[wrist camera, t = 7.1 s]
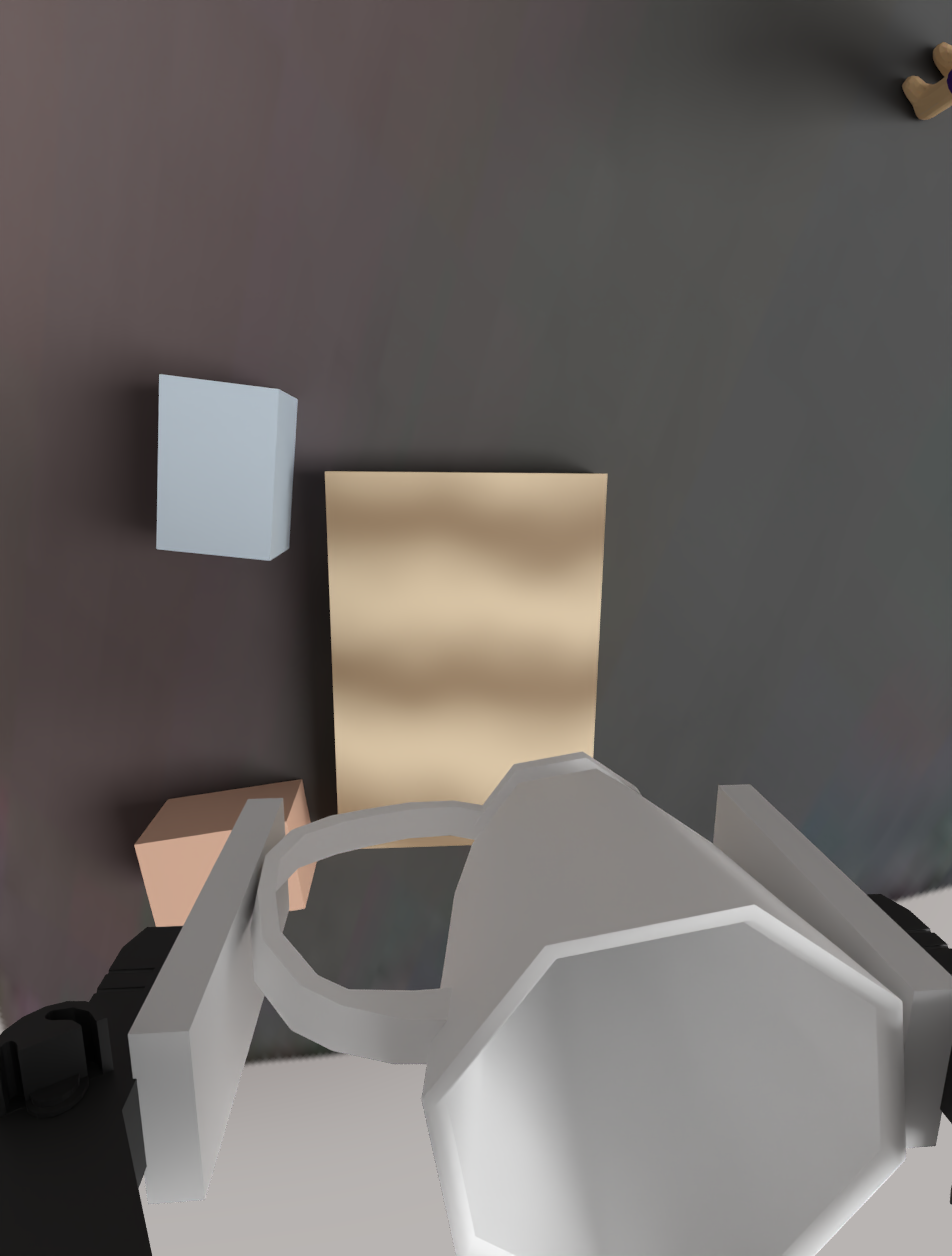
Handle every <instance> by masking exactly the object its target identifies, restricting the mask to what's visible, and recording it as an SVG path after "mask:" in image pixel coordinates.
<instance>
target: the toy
mask: <svg viewBox="0 0 952 1256" xmlns="http://www.w3.org/2000/svg"><path fill="white" fill-rule="evenodd" d="M933 60H934V62H935V65H936V66H937V68H938V69H939V71H940V72H941V73H942V75H943V76H944V78H943V79H942V80H940V81H939V82H938V83H936V84H927V83H925V82H924V81H923V80H922V79H921V78H919V77H918V76H910V77H908V78H907V79H906V80H905V82H904V83H903V85H902V88H903V91H904V93H905V95H906V97H907V98H908V100H909V101H910V103H911V104H912V105H913V108H914V111H915V114H916V116H917V117H918V118H919V119H921V120H927V119H930V118H932V117H934V116H936V115H938V114H939V113H941V112H942V111H944V110H945V109H947V108H949V107H950V106H952V46H951V45H949V44H947V43H945V42H943V43H941V44H939V45H937V46H936V47H935V49H934V50H933Z"/></svg>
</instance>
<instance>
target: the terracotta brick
mask: <svg viewBox="0 0 952 1256" xmlns="http://www.w3.org/2000/svg"><path fill="white" fill-rule="evenodd" d="M263 798H283V802H284V820H285V836H286V835H287V834H288V833H289V832H290V831H291V830H293V829H295V828H298V827H301V826H304V825H306V824H309V823H311V821H310V816H309V811H308V807H307V802H306V797H305V792H304V787H303V782H302V779H299V780H293V781H286V782H280V783H273V784H266V785H260V786H253V787H246V788H240V789H233V790H226V791H220V792H213V793H206V794H200V795H193V796H186V797H180V798H173V799H168V800H167V801H166V803H165V804H164V805H163V807H162V808H161V809H160V811H159V812H158V813H157V815H156V816H155V817H154V819H153V820H152V821H151V823H150V824H149V826H148V827H147V828H146V830H145V831H144V832H143V834H142V835H141V836H140V838H139V839H138V840H137V842H136V843H135V844H134V846H135V850H136V854H137V857H138V861H139V865H140V868H141V872H142V876H143V880H144V883H145V887H146V891H147V894H148V898H149V902H150V906H151V909H152V913H153V917H154V920H155V924H156V927H166V926H183V925H184V923H185V921H186V919H187V917H188V915H189V913H190V911H191V910H192V908H193V906H194V904H195V902H196V900H197V898H198V896H199V894H200V892H201V890H202V888H203V886H204V884H205V882H206V880H207V878H208V876H209V874H210V872H211V870H212V868H213V866H214V864H215V862H216V861H217V859H218V857H219V855H220V853H221V851H222V849H223V847H224V845H225V843H226V841H227V839H228V837H229V835H230V833H231V831H232V829H233V827H234V825H235V823H236V821H237V819H238V817H239V815H240V813H241V811H242V810H243V808H244V806H245V804H246V802H247V800H248V799H263ZM316 863H317V861H316V862H314V863H311V864H308V865H306V866H303V867H300V868H298V869H297V870H296V871H295V872H294V873H293V874H292V875H291V876H290V877H289V878H288V891H289V911H293V910H299V909H305V906H306V902H307V898H308V894H309V890H310V886H311V882H312V878H313V874H314V870H315V867H316Z"/></svg>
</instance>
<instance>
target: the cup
mask: <svg viewBox="0 0 952 1256" xmlns="http://www.w3.org/2000/svg"><path fill="white" fill-rule="evenodd" d="M449 835H451V836H456V837H462V838H468V839H473V840H475V841H474V842H473V844H472V846H471V849H470V852H469V855H468V858H467V861H466V863H465V866H464V869H463V872H462V875H461V877H460V880H459V883H458V886H457V889H456V891H455V894H454V901H453V908H452V915H451V922H450V928H449V935H448V942H447V949H446V956H445V962H444V969H443V975H442V981H441V986H440V989H429V990H416V991H407V990H353V989H347V988H344V987H342V986H340V985H338V984H336V983H333V982H331V981H329V980H327V979H325V978H323V977H320V976H318V975H317V974H316V972H315V971H314V970H313V969H312V968H311V967H310V965H309V964H308V963H307V962H306V961H305V960H304V958H303V957H302V956H301V955H300V954H299V952H298V951H297V950H296V949H295V948H294V947H293V945H292V944H291V943H290V942H289V941H288V940H287V938H286V937H285V936H284V935H283V934H282V932H281V931H280V926H279V918H278V910H277V901H276V893H275V892H276V891H277V890H278V889H279V888H280V887H281V886H282V885H283V884H284V883H285V882H286V881H287V880H288V878H289V877H290V876H291V875H292V874H293V873H294V872H295V871H296V870H297V869H298V868H300V867H303V866H306V865H308V864H311V863H314V862H316V861H319V860H322V859H324V858H327V857H330V856H333V855H335V854H339V853H343V852H347V851H352V850H356V849H360V848H364V847H369V846H373V845H378V844H383V843H388V842H393V841H398V840H403V839H408V838H421V837H435V836H449ZM250 934H251V946H252V959H253V971H254V981H255V983H256V984H257V985H258V987H259V988H260V989H261V991H262V992H263V993H264V995H265V996H266V997H267V999H268V1000H269V1001H270V1003H271V1004H272V1005H273V1007H274V1008H275V1009H276V1011H277V1012H278V1013H279V1015H280V1016H281V1017H282V1019H283V1020H284V1021H285V1023H286V1024H287V1025H288V1027H289V1028H290V1029H291V1030H292V1031H294V1032H296V1033H298V1034H300V1035H302V1036H304V1037H306V1038H308V1039H310V1040H312V1041H314V1042H316V1043H318V1044H320V1045H322V1046H324V1047H326V1048H328V1049H330V1050H332V1051H336V1052H341V1053H345V1054H350V1055H354V1056H359V1057H363V1058H368V1059H373V1060H377V1061H382V1062H386V1063H391V1064H427V1068H426V1074H425V1081H424V1087H423V1093H422V1104H423V1109H424V1113H425V1118H426V1122H427V1127H428V1131H429V1136H430V1140H431V1145H432V1149H433V1154H434V1158H435V1163H436V1167H437V1172H438V1177H439V1181H440V1186H441V1190H442V1195H443V1199H444V1204H445V1208H446V1212H447V1217H448V1222H449V1226H450V1231H451V1235H452V1240H453V1244H454V1249H455V1254H456V1256H815V1255H816V1254H817V1253H818V1252H819V1251H820V1250H821V1248H822V1247H823V1246H824V1245H825V1244H826V1243H827V1242H828V1241H829V1240H830V1239H831V1238H832V1237H833V1236H834V1235H835V1234H836V1233H837V1232H838V1231H839V1230H840V1228H841V1227H842V1226H843V1225H844V1224H845V1223H846V1222H847V1221H848V1220H849V1219H850V1218H851V1217H852V1216H853V1215H854V1214H855V1213H856V1212H857V1211H858V1209H860V1207H861V1206H862V1205H863V1204H864V1203H865V1202H866V1201H867V1200H868V1199H869V1198H870V1197H871V1196H872V1195H873V1194H874V1193H875V1192H876V1191H877V1189H879V1187H880V1186H881V1185H882V1184H883V1183H884V1182H885V1181H886V1180H887V1179H888V1178H889V1177H890V1176H891V1175H892V1174H893V1173H894V1172H895V1171H896V1169H897V1168H898V1167H899V1166H900V1165H901V1164H902V1163H903V1162H904V1161H905V1160H906V1135H905V1091H904V1047H903V1003H902V1000H900V999H899V998H898V997H897V996H896V995H894V994H893V993H892V992H891V991H890V990H889V989H887V988H886V987H885V986H884V985H883V984H881V983H880V982H879V981H878V980H877V979H875V978H874V977H873V976H872V975H871V974H869V973H868V972H867V971H866V970H865V969H863V968H862V967H861V966H860V965H859V964H857V963H856V962H855V961H854V960H853V959H852V958H850V957H849V956H848V955H847V954H846V953H844V952H843V951H842V950H841V949H840V948H838V947H837V946H836V945H835V944H833V943H832V942H831V941H830V940H828V939H827V938H826V937H825V936H823V935H822V934H821V933H820V932H818V931H817V930H816V929H815V928H813V927H812V926H811V925H810V924H808V923H807V922H806V921H805V920H803V919H802V918H801V917H800V916H798V915H797V914H796V913H795V912H793V911H792V910H791V909H790V908H788V907H787V906H786V905H785V904H784V903H782V902H781V901H780V900H779V899H778V898H776V897H775V896H774V895H773V894H772V893H771V892H769V891H768V890H767V889H766V888H765V887H763V886H762V885H761V884H760V883H759V882H758V881H756V880H755V879H754V878H753V877H752V876H751V875H749V874H748V873H747V872H746V871H745V870H743V869H742V868H741V867H740V866H739V865H738V864H736V863H735V862H734V861H733V860H732V859H731V858H729V857H728V856H727V855H726V854H725V853H723V852H722V851H721V850H720V849H719V848H718V847H716V846H715V845H714V844H713V843H711V842H710V841H708V840H707V839H705V838H704V837H702V836H701V835H699V834H698V833H696V832H695V831H693V830H692V829H690V828H689V827H687V826H686V825H684V824H683V823H681V822H680V821H678V820H677V819H675V818H674V817H672V816H671V815H669V814H668V813H666V812H665V811H663V810H662V809H660V808H659V807H657V806H656V805H654V804H653V803H651V802H650V801H648V800H647V799H645V798H644V797H642V796H641V793H640V792H639V791H638V789H637V788H636V787H635V786H634V785H632V784H631V783H629V782H628V781H626V780H625V779H623V778H622V777H620V776H619V775H617V774H616V773H614V772H613V771H611V770H610V769H608V768H607V767H605V766H604V765H602V764H601V763H599V762H598V761H596V760H595V759H593V758H592V757H590V756H589V755H587V754H586V753H584V752H583V751H582V752H577V753H571V754H566V755H560V756H555V757H550V758H544V759H539V760H533V761H528V762H523V763H517V764H514V765H513V766H512V767H511V769H510V770H509V771H508V772H507V774H506V775H505V776H504V778H503V779H502V780H501V782H500V783H499V784H498V786H497V787H496V788H495V790H494V791H493V792H492V794H491V795H490V796H489V797H488V799H487V800H486V801H485V803H484V804H483V805H479V804H472V803H466V802H460V801H454V800H453V801H430V802H409V803H402V804H396V805H389V806H383V807H376V808H370V809H364V810H359V811H353V812H348V813H342V814H337V815H332V816H328V817H326V818H323V819H320V820H317V821H315V822H312V823H309V824H306V825H304V826H301V827H298V828H295V829H293V830H291V831H290V832H289V833H288V834H287V835H286V836H285V837H284V838H283V839H282V840H281V841H280V842H279V843H278V844H277V845H276V846H274V847H273V848H272V849H271V850H270V851H269V852H268V853H267V854H266V855H265V859H264V864H263V868H262V872H261V877H260V881H259V885H258V890H257V895H256V900H255V906H254V911H253V916H252V921H251V927H250Z"/></svg>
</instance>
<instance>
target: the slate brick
mask: <svg viewBox="0 0 952 1256" xmlns="http://www.w3.org/2000/svg"><path fill="white" fill-rule="evenodd" d="M297 402H298V399H296V398H294V397H292V396H291V395H289V394H287V393H285V392H283V391H281V390H279V389H273V388H265V387H257V386H249V385H241V384H234V383H226V382H218V381H210V380H202V379H194V378H186V377H178V376H170V375H162V374H159V420H158V482H157V544H156V549H160V550H170V551H180V552H189V553H199V554H209V555H219V556H229V557H239V558H248V559H258V560H268V561H270V560H272V559H273V558H275V557H277V556H278V555H280V554H281V553H283V552H284V551H286V550H287V549H289V542H290V524H291V507H292V489H293V472H294V454H295V437H296V419H297Z"/></svg>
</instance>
